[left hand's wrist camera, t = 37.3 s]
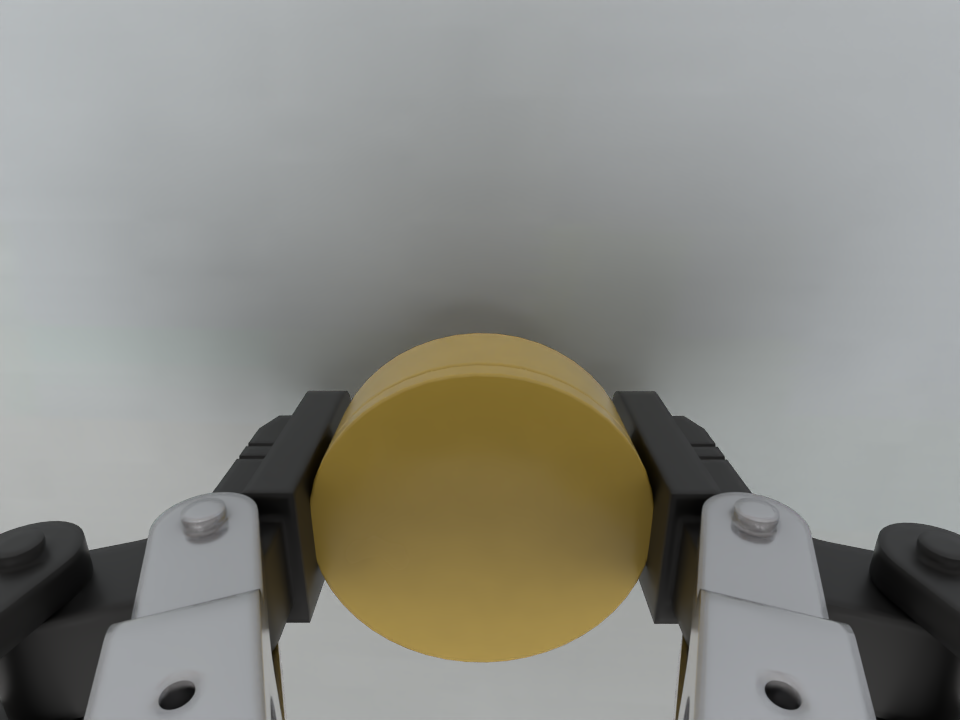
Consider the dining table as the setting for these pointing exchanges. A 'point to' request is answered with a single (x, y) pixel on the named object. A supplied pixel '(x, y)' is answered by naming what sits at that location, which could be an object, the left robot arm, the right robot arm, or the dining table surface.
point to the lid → (481, 501)
